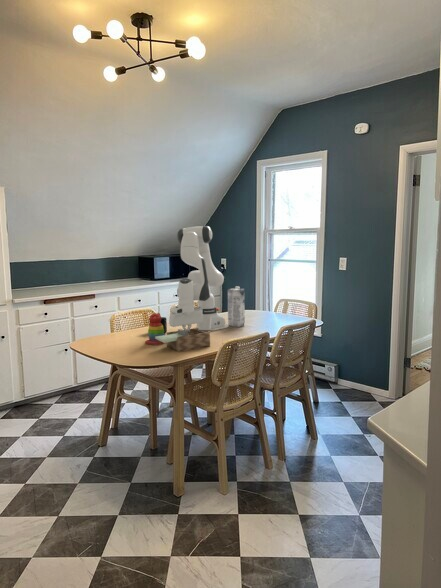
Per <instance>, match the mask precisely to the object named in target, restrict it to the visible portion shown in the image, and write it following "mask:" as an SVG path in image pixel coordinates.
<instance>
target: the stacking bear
mask: <svg viewBox="0 0 441 588" xmlns="http://www.w3.org/2000/svg"><path fill="white" fill-rule="evenodd" d="M161 317H162V315H161V313H160V312H157V313H152V314H151V315H150V316H149V318H148V320H149V326H148V330H147V335H148V339H147V340H145V341H144V344H145V345H148V346H158V345H160V346H161V345H163V344H164V343H163V342H161V341H159V340H157V339H155V337H156V336H162V335H165V333H164V329H163V325H162V324H161V323H160V322H161ZM150 322H151V323H150Z"/></svg>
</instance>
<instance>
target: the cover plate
mask: <svg viewBox="0 0 441 588" xmlns="http://www.w3.org/2000/svg"><path fill="white" fill-rule="evenodd" d="M177 331H178V333H175V334H169V335H167V334H164V335H162V336H156V337H155V339H157V340H159V341H161V342H163V344H165V343H166V344H167V342H172V341H177V337H180V336H187V335H188V331H185V330H184V329H183V328H179V329H177Z"/></svg>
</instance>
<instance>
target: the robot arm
mask: <svg viewBox="0 0 441 588" xmlns="http://www.w3.org/2000/svg"><path fill="white" fill-rule="evenodd" d="M176 236H177V237H176V238H177V241H178V243H179V244H180V259H181V261H183V262H184V263H185V264H187V265H189V266H191V267H194V268H196V270H192V271H190V272H189V273H188V276H187V278H183V279H180V280H179V281H178V284H177V285H178V287H177V298H178V305H176V306H173V307H171V308H170V310H169V311H170V314H169V319H168V321H169V323H168V325H169V326H170V327H173V328H174V327H181V326H182V330H185V331H188V332H190V329H192V325H195V324H196V326H195V328H198V330H200V331H209V332H210V331H211V332H212V331H213V332H214V331H219V330H222V329H223V330H224V329H226V328H229V327H230V326H229V325H228V324H226V320H225V317H224V316H222V315H220V313H218V312H219V311H220V307H215V296H214V294H213V293H212V291H211V288H212V289H213V288H219V287H222V285H223V284H224V281H225V280H224V279H225V278H224V275H223V273H222V272H221V271H219V270H218V269H217V268H216V267H215V265H214V263H213V261H212V256H211V252H210V251H211V249H210V245H209V243H211V241H212V239H213V231H212V228H211V227H210V226H208V225H204V226H203V225H202V226H200V225H198V226H189V227H185V228H184V227H183V228H180V229H178V231H177V235H176ZM197 269H198V270H197ZM195 301H197V306H195ZM186 327H187V328H186Z"/></svg>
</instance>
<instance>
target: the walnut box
mask: <svg viewBox="0 0 441 588" xmlns="http://www.w3.org/2000/svg"><path fill="white" fill-rule="evenodd" d="M175 333H178V330H174V331H169V332H168V331H167V332H166V335H169V334H175ZM166 345H167V348H169V349H171V350H174V351H175V352H177V353H182V352H186V351H192V350H199V349H203V348H209V347H211V332H210V331H208V332H205V331H204V330H198V328H196V327H195V328H190V332H188V335H187V336H180V337H177V341H172V342H166Z"/></svg>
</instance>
